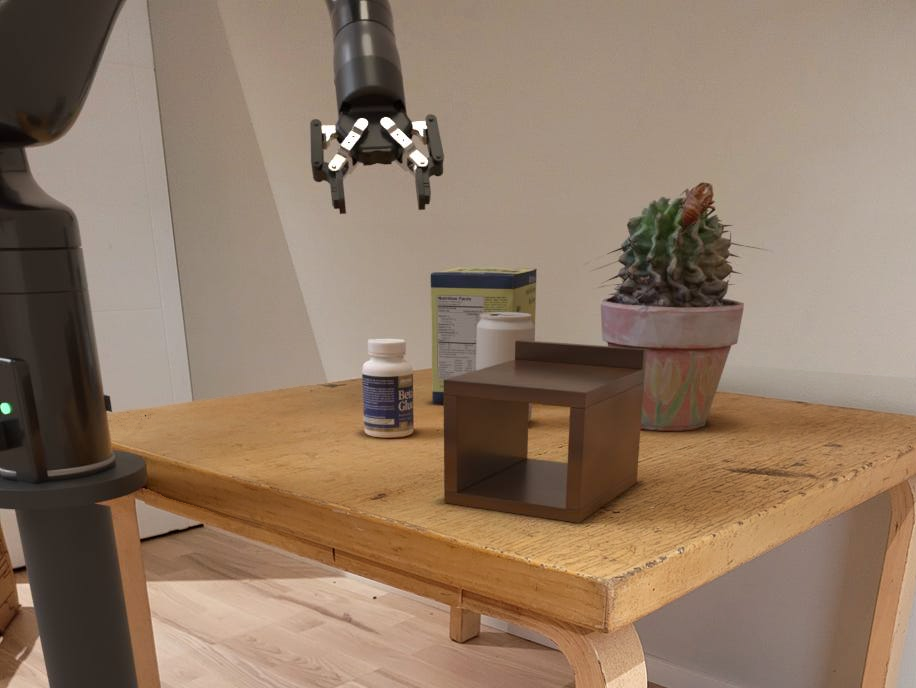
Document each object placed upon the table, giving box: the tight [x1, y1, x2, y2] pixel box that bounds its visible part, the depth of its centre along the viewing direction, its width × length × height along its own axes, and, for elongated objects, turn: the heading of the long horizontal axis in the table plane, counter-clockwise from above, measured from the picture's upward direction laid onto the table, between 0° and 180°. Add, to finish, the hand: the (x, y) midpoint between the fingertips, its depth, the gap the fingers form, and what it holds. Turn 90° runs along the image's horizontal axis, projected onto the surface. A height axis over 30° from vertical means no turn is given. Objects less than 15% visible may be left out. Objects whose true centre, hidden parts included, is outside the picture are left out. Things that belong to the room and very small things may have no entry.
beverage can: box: [476, 312, 536, 421], centre depth 107 cm, size 6×6×12 cm
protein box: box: [430, 266, 538, 405], centre depth 123 cm, size 10×16×16 cm
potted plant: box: [583, 181, 774, 432], centre depth 106 cm, size 18×20×25 cm
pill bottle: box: [361, 338, 415, 439], centre depth 102 cm, size 5×5×10 cm
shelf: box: [443, 340, 647, 524], centre depth 80 cm, size 14×12×12 cm
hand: (382, 207), depth 103 cm, fingers open, 8 cm apart
